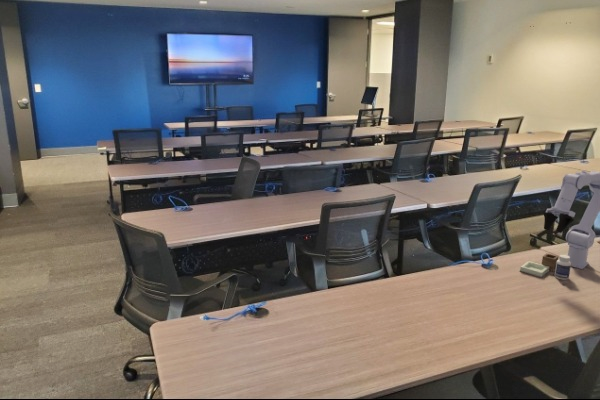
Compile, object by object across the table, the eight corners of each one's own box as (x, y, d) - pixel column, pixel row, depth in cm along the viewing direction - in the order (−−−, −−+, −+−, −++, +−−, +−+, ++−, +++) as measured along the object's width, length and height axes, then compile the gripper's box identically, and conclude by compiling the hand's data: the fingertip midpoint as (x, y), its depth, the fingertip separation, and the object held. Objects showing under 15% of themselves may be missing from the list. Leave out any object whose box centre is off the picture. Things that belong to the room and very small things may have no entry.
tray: (527, 265, 208) (528, 260, 207) (548, 271, 202) (549, 266, 201) (519, 271, 202) (520, 266, 201) (541, 277, 196) (542, 272, 195)
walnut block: (544, 265, 208) (546, 253, 206) (556, 268, 204) (558, 256, 203) (540, 268, 204) (542, 256, 203) (552, 272, 201) (554, 259, 199)
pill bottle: (570, 280, 192) (574, 259, 190) (556, 279, 193) (560, 258, 191) (566, 275, 198) (569, 254, 195) (552, 274, 199) (555, 253, 196)
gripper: (545, 196, 196) (533, 225, 196) (570, 198, 182) (556, 229, 182) (558, 202, 198) (546, 231, 198) (584, 204, 183) (571, 235, 183)
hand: (552, 230), depth 190 cm, fingers open, 7 cm apart
